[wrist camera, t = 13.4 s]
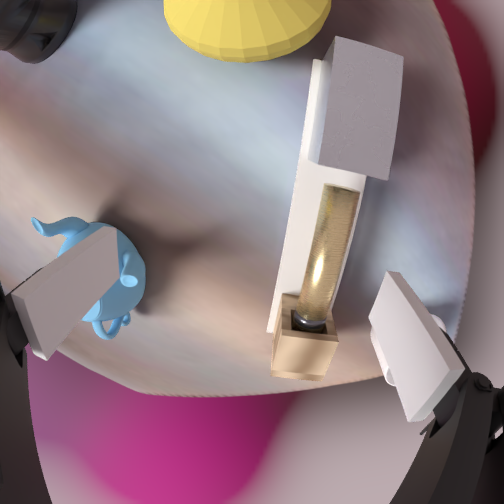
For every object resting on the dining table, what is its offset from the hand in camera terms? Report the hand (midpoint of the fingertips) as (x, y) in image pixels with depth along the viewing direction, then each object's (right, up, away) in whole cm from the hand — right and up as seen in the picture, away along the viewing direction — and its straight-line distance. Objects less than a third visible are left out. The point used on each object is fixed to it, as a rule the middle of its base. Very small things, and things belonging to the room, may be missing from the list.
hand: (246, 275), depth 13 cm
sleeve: (+11, +18, +18) cm, 28 cm away
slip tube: (+9, -1, +21) cm, 23 cm away
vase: (0, +32, +14) cm, 35 cm away
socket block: (+8, -8, +29) cm, 31 cm away
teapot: (-23, 0, +29) cm, 38 cm away
